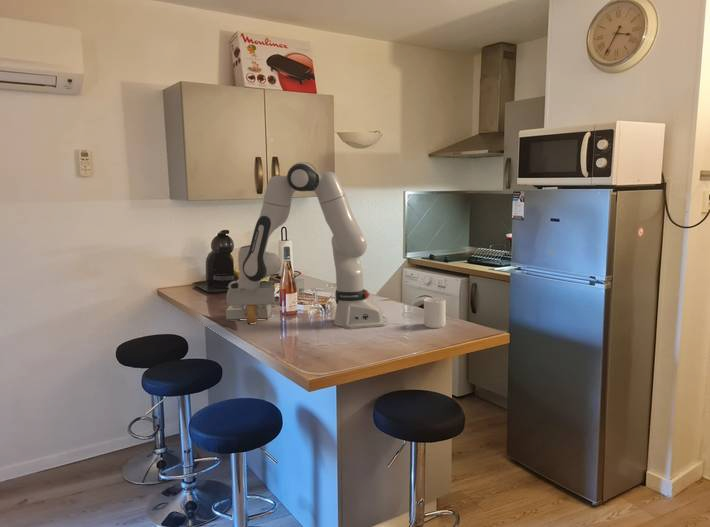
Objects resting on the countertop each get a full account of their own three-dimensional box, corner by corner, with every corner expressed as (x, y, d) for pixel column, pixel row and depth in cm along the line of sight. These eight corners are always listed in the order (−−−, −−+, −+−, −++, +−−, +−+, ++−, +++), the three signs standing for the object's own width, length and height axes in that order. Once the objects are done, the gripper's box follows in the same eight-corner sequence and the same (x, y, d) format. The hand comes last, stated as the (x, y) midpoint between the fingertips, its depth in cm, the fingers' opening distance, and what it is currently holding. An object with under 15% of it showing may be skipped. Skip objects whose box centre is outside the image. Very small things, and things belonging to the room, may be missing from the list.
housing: (271, 314, 246) (270, 300, 245) (267, 320, 235) (267, 305, 234) (231, 315, 246) (230, 301, 245) (226, 321, 235) (225, 306, 234)
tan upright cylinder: (257, 321, 233) (256, 303, 231) (256, 324, 229) (255, 305, 227) (248, 322, 233) (247, 303, 231) (246, 324, 229) (245, 305, 227)
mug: (453, 323, 222) (453, 297, 220) (438, 329, 212) (438, 303, 211) (435, 320, 227) (435, 295, 225) (419, 326, 218) (419, 300, 216)
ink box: (281, 304, 265) (280, 281, 263) (290, 301, 273) (288, 278, 271) (297, 305, 262) (296, 281, 260) (305, 302, 270) (304, 278, 268)
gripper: (275, 281, 231) (277, 312, 233) (227, 282, 231) (229, 313, 233) (273, 283, 225) (275, 316, 227) (224, 285, 225) (226, 317, 227)
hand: (251, 315), depth 230 cm, fingers closed on tan upright cylinder, 4 cm apart
